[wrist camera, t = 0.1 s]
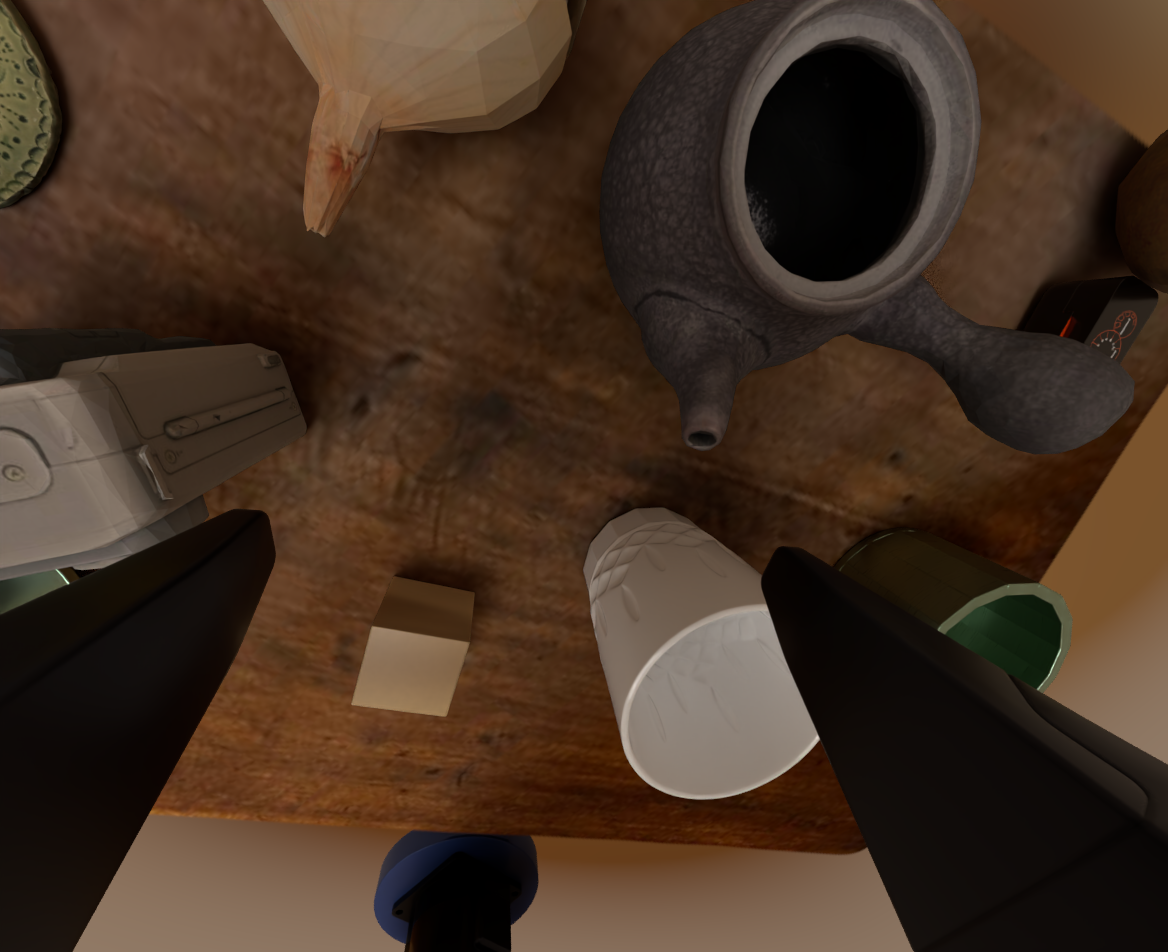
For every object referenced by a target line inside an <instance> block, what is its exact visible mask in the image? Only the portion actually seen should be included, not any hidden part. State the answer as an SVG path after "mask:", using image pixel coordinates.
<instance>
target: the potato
mask: <svg viewBox="0 0 1168 952" xmlns="http://www.w3.org/2000/svg"><path fill="white" fill-rule="evenodd" d="M1115 232H1116V235H1117V238H1118V241H1119V244H1120V247H1121V250H1122V252H1123V255H1124V258H1125V260H1126V263H1127V265H1128V267H1129V268H1130V270H1131V272H1132V273H1133V274H1134V275H1135V276H1137V277H1138V278H1139V279H1140V280H1141V281H1143V282H1144V283H1146V284H1147V285H1149V286H1150V287H1152V288H1155V289H1157V290H1159V291H1162V292H1164V293H1168V130H1166V131H1165V132H1164V133H1162V134H1161V135H1160V136H1159V137H1158V138H1157V139H1156V140H1155V142H1154V143H1153V144H1152V145H1151V146H1150V147H1149V148H1148V150H1147V151H1146V152H1145V153H1144V155H1143V156H1142V157H1141V158H1140V160H1139V161H1138V162H1137V164H1136V165H1135V166H1134V167H1133V169H1132V170H1131V171H1130V172H1129V174H1128V175H1127V176H1126V177H1125V179H1124V180H1123V181H1122V183H1121V184H1120V185H1119V186H1118V197H1117V210H1116V222H1115Z"/></svg>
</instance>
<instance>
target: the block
mask: <svg viewBox="0 0 1168 952" xmlns="http://www.w3.org/2000/svg"><path fill="white" fill-rule="evenodd" d="M474 596H475V593H474V592H470V591H465V590H460V589H455V588H450V587H445V586H440V585H435V584H430V583H425V582H420V581H415V580H410V579H405V578H401V577H396V576H394V577H393V578H392V581H391V583H390V585H389V588H388V590H387V592H386V594H385V597H384V599H383V601H382V603H381V606H380V608H379V610H378V613H377V615H376V617H375V619H374V622H373V624H372V626H371V630H370V634H369V638H368V642H367V646H366V649H365V653H364V657H363V661H362V665H361V668H360V672H359V676H358V680H357V684H356V688H355V691H354V695H353V699H352V703H351V704H352V705H356V706H364V707H372V708H380V709H388V710H396V711H404V712H412V713H420V714H428V715H436V716H444V717H446V716H447V713H448V710H449V707H450V703H451V700H452V697H453V694H454V691H455V688H456V685H457V682H458V679H459V676H460V673H461V669H462V666H463V663H464V660H465V657H466V654H467V651H468V648H469V645H470V639H471V628H472V618H473V607H474Z"/></svg>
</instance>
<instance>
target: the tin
mask: <svg viewBox="0 0 1168 952" xmlns="http://www.w3.org/2000/svg"><path fill="white" fill-rule="evenodd" d="M834 568H835V569H837V570H838V571H840V572H842V573H843V574H845V575H847V576H848V577H850V578H852V579H853V580H855V581H857V582H858V583H860V584H862V585H863V586H865V587H867V588H868V589H870V590H872V591H873V592H875V593H877V594H878V595H880V596H882V597H883V598H885V599H887V600H888V601H890V602H892V603H893V604H895V605H897V606H898V607H900V608H902V609H903V610H905V611H907V612H908V613H910V614H912V615H913V616H915V617H917V618H918V619H920V620H922V621H923V622H925V623H927V624H928V625H930V626H932V627H933V628H935V629H936V630H938V631H940V632H941V633H943V634H945V635H946V636H948V637H950V638H951V639H953V640H955V641H956V642H958V643H960V644H961V645H963V646H965V647H966V648H968V649H970V650H971V651H973V652H975V653H976V654H978V655H980V656H981V657H983V658H985V659H986V660H988V661H990V662H991V663H993V664H995V665H996V666H998V667H1000V668H1001V669H1003V670H1004V671H1005V672H1006V673H1007V674H1011V675H1013V676H1015V677H1016V678H1018V679H1020V680H1021V681H1023V682H1025V683H1026V684H1028V685H1030V686H1031V687H1033V688H1035V689H1036V690H1038V691H1040V692H1041V693H1044V691H1045V690H1046V689H1047V688H1048V686H1049V685H1050V684H1051V683H1052V682H1053V680H1054V679H1055V678H1056V676H1057V674H1058V672H1059V670H1060V668H1061V666H1062V663H1063V661H1064V659H1065V657H1066V655H1067V653H1068V650H1069V648H1070V644H1071V632H1072V616H1071V614H1070V612H1069V610H1068V608H1067V605H1066V603H1065V601H1064V599H1063V597H1062V596H1061V595H1060V594H1058V593H1057V592H1055V591H1053V590H1051V589H1049V588H1047V587H1046V586H1044V585H1042V584H1040V583H1038V582H1036V581H1034V580H1031V579H1029V578H1027V577H1025V576H1023V575H1020V574H1018V573H1016V572H1014V571H1012V570H1009V569H1007V568H1005V567H1003V566H1001V565H999V564H996V563H994V562H992V561H990V560H988V559H985V558H983V557H981V556H979V555H977V554H974V553H972V552H970V551H968V550H966V549H963V548H961V547H959V546H957V545H955V544H953V543H950V542H948V541H946V540H944V539H942V538H939V537H937V536H935V535H933V534H931V533H928V532H926V531H922V530H919V529H915V528H894V529H889V530H885V531H882V532H879V533H876V534H874V535H872V536H870V537H868V538H866V539H865V540H863V541H861V542H860V543H858V544H857V545H856V546H854V547H853V548H852V549H850V550H849V551H848V552H847V553H846V554H845V555H844V556H843V557H842V558H841V559H840V560H839V561H838V563H837V564H836V565H835V566H834Z"/></svg>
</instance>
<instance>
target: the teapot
mask: <svg viewBox="0 0 1168 952" xmlns="http://www.w3.org/2000/svg"><path fill="white" fill-rule="evenodd" d="M980 130H981V116H980V106H979V97H978V88H977V79H976V72H975V69H974V67H973V64H972V61H971V59H970V56H969V53H968V51H967V48H966V45H965V43H964V40H963V37H962V35H961V34H960V33H959V31H958V30H957V29H956V28H955V27H954V25H953V24H952V23H951V22H950V21H949V20H948V18H947V17H946V16H945V15H944V14H943V12H942V11H941V10H940V9H939V8H938V7H937V5H936V4H935V3H934V2H933V1H932V0H755V1H752V2H749V3H746V4H743V5H739V6H736V7H733V8H731V9H729V10H726V11H724V12H722V13H720V14H718V15H716V16H714V17H712V18H711V19H709V20H707V21H705V22H704V23H702V24H700V25H698V26H697V27H695V28H693V29H692V30H690V31H689V32H688V33H687V34H686V35H684V36H683V37H682V38H681V39H680V40H679V41H678V42H677V43H676V44H675V45H674V46H673V47H672V48H671V49H669V50H668V51H667V52H666V53H665V54H664V55H662V56H661V57H660V58H659V59H658V60H657V61H656V63H655V64H654V65H653V66H652V68H651V69H650V70H649V72H648V73H647V74H646V75H645V77H644V78H643V79H642V81H641V82H640V83H639V85H638V86H637V88H636V90H635V91H634V93H633V95H632V96H631V98H630V100H629V102H628V104H627V105H626V107H625V109H624V111H623V112H622V114H621V116H620V118H619V121H618V123H617V126H616V128H615V131H614V134H613V136H612V139H611V142H610V146H609V150H608V154H607V157H606V161H605V165H604V169H603V173H602V179H601V196H600V233H601V239H602V244H603V249H604V254H605V259H606V264H607V267H608V270H609V273H610V276H611V279H612V282H613V285H614V287H615V289H616V291H617V293H618V295H619V297H620V299H621V301H622V303H623V304H624V306H625V307H626V308H627V310H628V311H629V313H630V314H631V316H632V317H633V318H634V320H635V321H636V323H637V324H638V325H639V327H640V328H641V332H642V341H643V344H644V348H645V351H646V354H647V356H648V358H649V359H650V361H651V363H652V364H653V365H654V367H655V368H656V369H657V370H658V371H659V372H660V373H661V374H662V375H663V376H664V377H665V379H666V380H667V381H668V382H669V383H670V384H671V385H672V386H673V387H674V389H675V391H676V393H677V396H678V398H679V404H680V414H681V426H682V439H683V441H684V442H685V444H686V445H687V446H689V447H692V448H694V449H697V450H700V451H706V450H710V449H712V448H713V447H715V446H717V445H718V444H720V442H721V440H722V438H723V436H724V434H725V432H726V430H727V426H728V422H729V418H730V413H731V409H732V405H733V399H734V394H735V389H736V385H737V384H738V383H739V382H740V380H741V379H742V378H744V377H745V376H746V375H747V374H748V373H749V372H751V371H752V370H759V369H763V368H767V367H772V366H776V365H780V364H783V363H786V362H789V361H791V360H794V359H796V358H799V357H801V356H803V355H805V354H808V353H810V352H812V351H814V350H815V349H817V348H818V347H820V346H821V345H823V344H824V343H826V342H827V341H829V340H830V339H832V338H833V337H836V336H840V335H844V334H849V335H851V336H853V337H855V338H857V339H858V340H860V341H864V342H868V343H872V344H876V345H881V346H885V347H889V348H893V349H897V350H900V351H904V352H908V353H910V354H912V355H913V356H915V357H917V358H919V359H921V360H923V361H925V362H927V363H929V364H930V365H931V366H932V367H933V369H934V370H935V371H936V372H937V373H938V374H939V375H940V376H941V377H942V378H943V379H944V380H945V381H946V383H947V385H948V386H949V387H950V389H951V390H952V391H953V393H954V394H955V396H956V398H957V400H958V402H959V404H960V406H961V407H962V409H963V411H964V413H965V415H966V417H967V419H968V421H970V422H971V423H972V424H974V425H975V426H976V427H977V428H979V429H980V430H981V431H983V432H984V433H985V434H987V435H988V436H990V437H992V438H994V439H995V440H997V441H1000V442H1002V443H1004V444H1006V445H1008V446H1010V447H1012V448H1014V449H1016V450H1020V451H1024V452H1028V453H1032V454H1057V453H1061V452H1065V451H1068V450H1071V449H1075V448H1078V447H1080V446H1082V445H1084V444H1086V443H1088V442H1089V441H1091V440H1093V439H1095V438H1097V437H1099V436H1101V435H1102V434H1103V433H1104V432H1106V431H1107V430H1108V429H1109V428H1110V427H1111V426H1112V425H1113V424H1114V423H1115V422H1116V421H1117V420H1118V419H1119V418H1120V417H1121V416H1122V415H1123V414H1124V413H1125V412H1126V411H1127V409H1128V408H1129V406H1130V404H1131V403H1132V401H1133V395H1134V380H1133V379H1132V378H1131V377H1130V375H1129V374H1128V373H1127V372H1126V371H1125V370H1124V369H1123V368H1122V366H1121V365H1120V364H1119V363H1118V362H1117V361H1116V360H1114V359H1112V358H1111V357H1109V356H1107V355H1105V354H1104V353H1102V352H1100V351H1099V350H1096V349H1094V348H1092V347H1090V346H1087V345H1085V344H1083V343H1081V342H1078V341H1076V340H1074V339H1070V338H1065V337H1061V336H1057V335H1053V334H1047V333H1030V332H1024V331H1018V330H1012V329H1006V328H999V327H992V326H985V325H979V324H977V323H975V322H973V321H972V320H970V319H968V318H966V317H964V316H963V315H961V314H960V313H958V312H957V311H955V310H953V309H952V308H950V307H949V306H947V305H946V304H945V303H944V302H943V301H942V300H941V298H940V297H939V296H938V295H937V293H936V291H935V289H934V288H933V287H932V286H931V285H930V283H929V282H928V281H927V280H926V279H925V278H924V277H923V276H921V275H920V274H921V273H922V272H923V271H924V270H925V269H926V267H927V266H928V265H929V264H930V263H931V262H932V261H933V260H934V258H935V257H936V256H937V255H938V254H939V252H940V251H941V249H942V248H943V246H944V245H945V243H946V241H947V239H948V237H949V235H950V234H951V232H952V230H953V228H954V226H955V224H956V222H957V221H958V219H959V217H960V215H961V212H962V210H963V207H964V205H965V202H966V199H967V197H968V194H969V192H970V189H971V186H972V184H973V181H974V176H975V169H976V163H977V156H978V147H979V138H980Z"/></svg>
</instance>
